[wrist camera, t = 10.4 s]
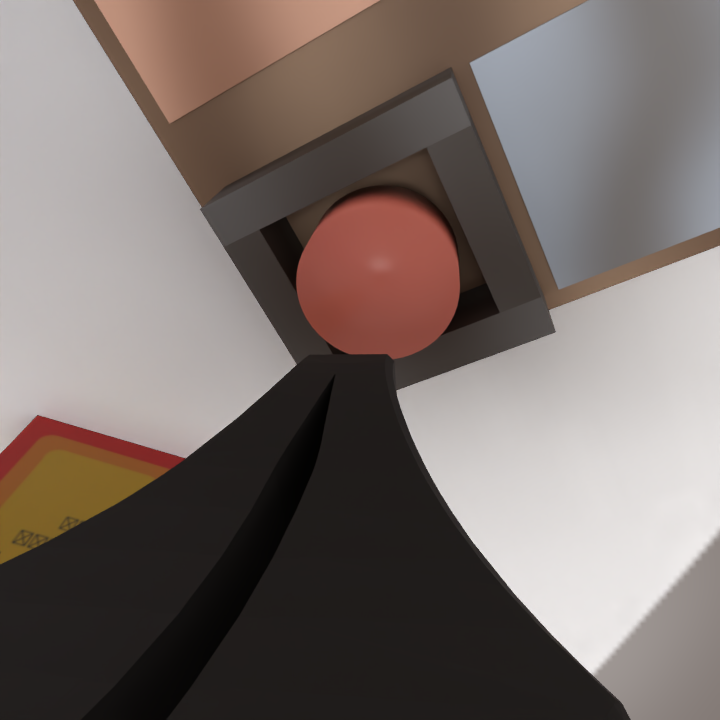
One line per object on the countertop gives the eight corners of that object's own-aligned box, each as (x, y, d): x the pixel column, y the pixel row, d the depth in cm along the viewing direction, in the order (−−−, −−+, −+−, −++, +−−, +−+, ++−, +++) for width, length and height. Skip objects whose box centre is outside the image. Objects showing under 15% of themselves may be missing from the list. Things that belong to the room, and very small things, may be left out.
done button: (352, 344, 17) (343, 380, 15) (284, 224, 15) (266, 250, 14) (481, 293, 16) (485, 326, 14) (420, 158, 14) (417, 178, 13)
